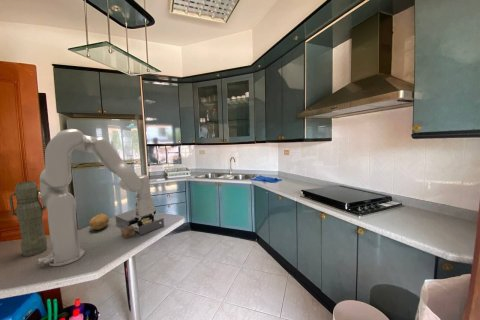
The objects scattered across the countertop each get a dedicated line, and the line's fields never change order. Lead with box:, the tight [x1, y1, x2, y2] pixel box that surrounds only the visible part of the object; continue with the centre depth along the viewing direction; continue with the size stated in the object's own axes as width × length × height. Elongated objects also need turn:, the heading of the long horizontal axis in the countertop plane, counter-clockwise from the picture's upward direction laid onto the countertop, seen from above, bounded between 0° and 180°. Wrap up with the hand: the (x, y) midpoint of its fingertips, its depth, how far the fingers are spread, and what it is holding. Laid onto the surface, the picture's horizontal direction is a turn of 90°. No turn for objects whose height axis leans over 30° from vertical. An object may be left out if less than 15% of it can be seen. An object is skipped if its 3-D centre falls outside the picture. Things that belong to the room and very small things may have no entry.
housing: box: [115, 209, 150, 229], centre depth 132 cm, size 16×16×6 cm
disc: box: [141, 218, 152, 225], centre depth 124 cm, size 7×7×2 cm
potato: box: [88, 213, 110, 231], centre depth 126 cm, size 10×14×8 cm
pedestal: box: [120, 226, 136, 239], centre depth 115 cm, size 5×5×4 cm
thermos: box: [8, 180, 48, 257], centre depth 100 cm, size 9×12×35 cm
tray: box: [130, 217, 165, 236], centre depth 125 cm, size 15×16×5 cm
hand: (146, 224), depth 124 cm, fingers closed on disc, 7 cm apart
